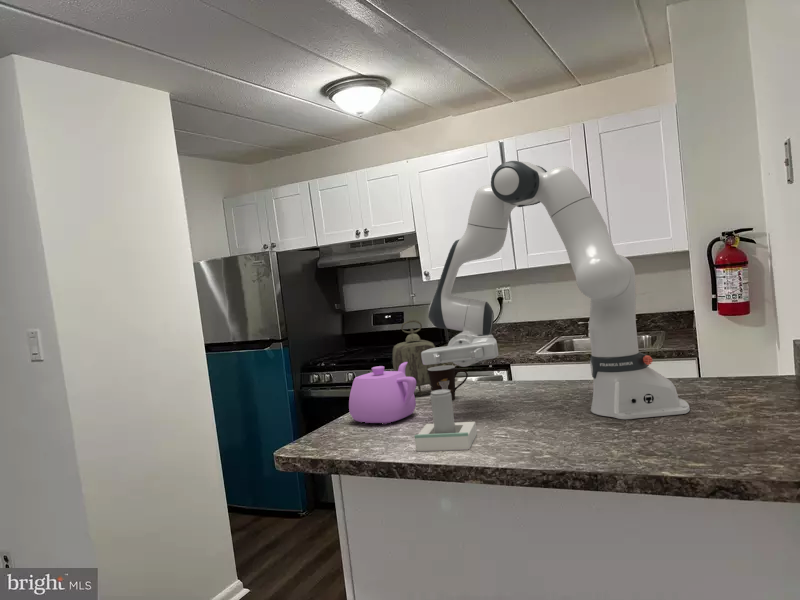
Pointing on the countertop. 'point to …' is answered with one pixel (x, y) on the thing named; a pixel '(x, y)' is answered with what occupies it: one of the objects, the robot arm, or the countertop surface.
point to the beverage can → (442, 411)
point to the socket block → (446, 438)
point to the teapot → (382, 396)
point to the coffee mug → (444, 378)
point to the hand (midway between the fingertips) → (455, 356)
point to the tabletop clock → (413, 357)
